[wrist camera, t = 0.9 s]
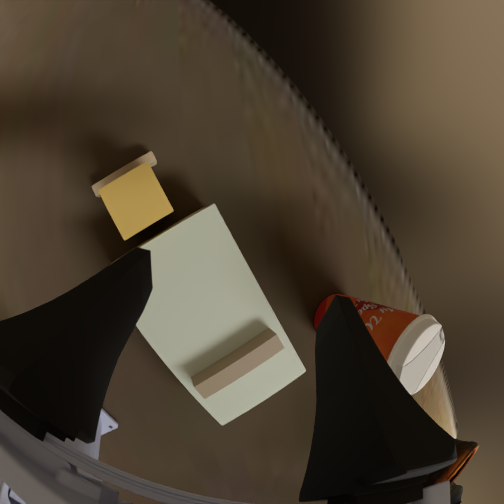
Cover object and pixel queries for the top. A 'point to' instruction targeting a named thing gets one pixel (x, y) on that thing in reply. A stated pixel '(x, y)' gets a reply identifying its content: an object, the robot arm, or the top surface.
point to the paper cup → (399, 339)
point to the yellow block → (135, 200)
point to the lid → (214, 319)
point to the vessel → (452, 471)
